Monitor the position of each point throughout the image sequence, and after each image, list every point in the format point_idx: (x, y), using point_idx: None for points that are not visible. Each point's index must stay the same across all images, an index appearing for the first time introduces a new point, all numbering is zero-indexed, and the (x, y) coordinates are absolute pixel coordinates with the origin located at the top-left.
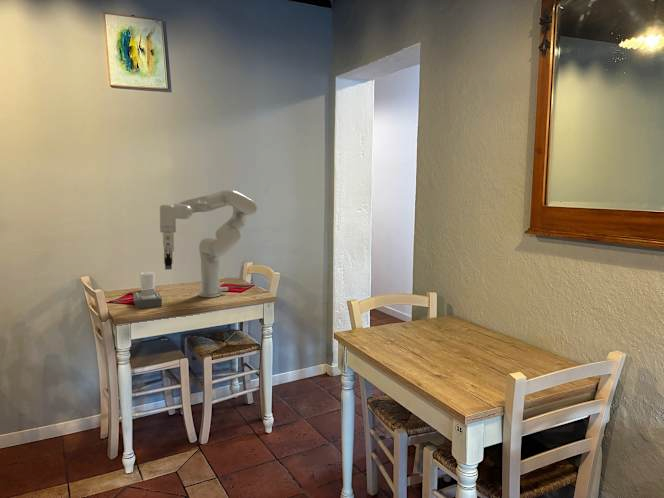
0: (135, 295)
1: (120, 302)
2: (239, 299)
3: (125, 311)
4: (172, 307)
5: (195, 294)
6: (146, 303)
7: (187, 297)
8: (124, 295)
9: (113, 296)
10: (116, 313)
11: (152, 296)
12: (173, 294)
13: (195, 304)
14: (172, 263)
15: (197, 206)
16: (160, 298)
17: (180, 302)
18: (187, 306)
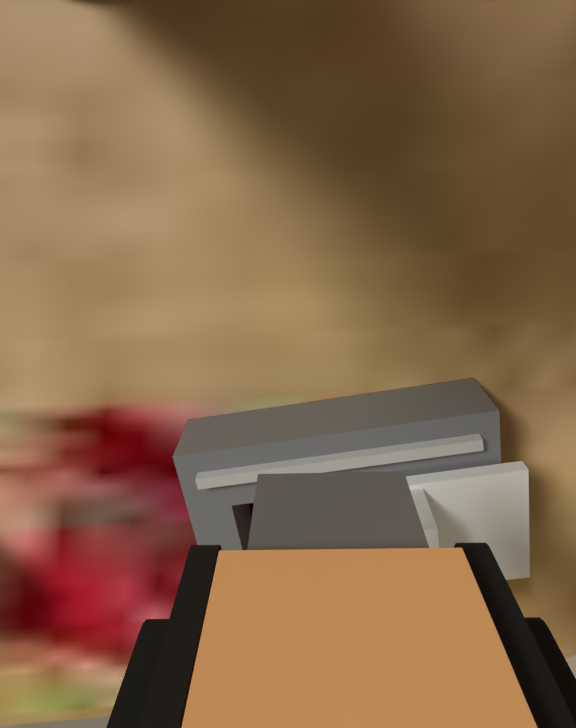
0: None
1: None
2: None
3: (537, 607)
4: (551, 285)
5: (41, 32)
6: None
7: (179, 135)
8: (59, 648)
9: (86, 703)
10: (568, 649)
11: (489, 500)
12: (35, 289)
13: (516, 37)
14: (462, 554)
15: None
16: (499, 421)
17: (382, 211)
18: (569, 133)
